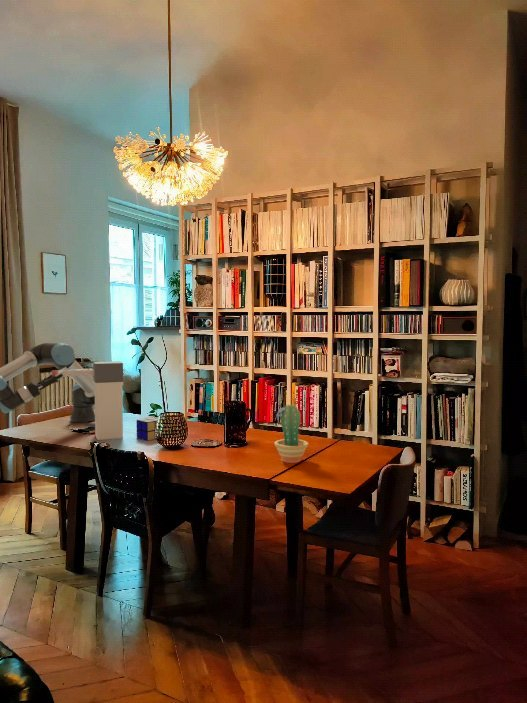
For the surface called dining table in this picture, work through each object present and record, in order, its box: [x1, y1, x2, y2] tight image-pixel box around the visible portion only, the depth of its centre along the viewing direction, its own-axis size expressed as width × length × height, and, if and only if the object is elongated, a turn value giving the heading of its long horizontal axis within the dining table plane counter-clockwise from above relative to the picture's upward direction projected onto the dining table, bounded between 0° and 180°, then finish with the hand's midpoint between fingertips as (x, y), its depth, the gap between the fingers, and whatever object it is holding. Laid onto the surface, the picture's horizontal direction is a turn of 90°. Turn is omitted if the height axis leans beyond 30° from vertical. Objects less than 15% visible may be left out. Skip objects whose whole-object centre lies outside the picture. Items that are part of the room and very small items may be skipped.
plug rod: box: [51, 368, 95, 377], centre depth 281 cm, size 25×3×3 cm, turn 112°
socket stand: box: [92, 360, 124, 441], centre depth 288 cm, size 14×14×40 cm
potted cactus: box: [274, 404, 309, 464], centre depth 243 cm, size 15×15×25 cm
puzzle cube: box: [136, 417, 159, 442], centre depth 286 cm, size 10×10×10 cm
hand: (67, 369), depth 279 cm, fingers open, 13 cm apart
